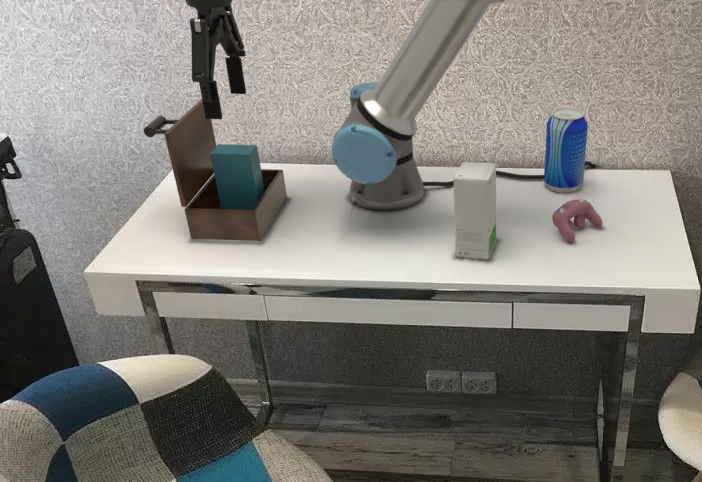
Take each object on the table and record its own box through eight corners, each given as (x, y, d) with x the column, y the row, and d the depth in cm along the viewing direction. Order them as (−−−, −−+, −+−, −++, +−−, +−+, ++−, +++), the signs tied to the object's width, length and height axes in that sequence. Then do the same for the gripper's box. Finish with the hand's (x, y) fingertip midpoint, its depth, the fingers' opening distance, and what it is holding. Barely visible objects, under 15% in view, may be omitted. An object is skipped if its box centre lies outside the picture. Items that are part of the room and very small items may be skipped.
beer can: (556, 174, 174) (561, 103, 165) (590, 184, 170) (596, 111, 161) (536, 187, 169) (539, 114, 160) (570, 197, 165) (575, 123, 156)
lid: (206, 97, 152) (167, 96, 153) (168, 133, 137) (124, 132, 137) (220, 165, 160) (183, 164, 161) (185, 207, 145) (144, 206, 145)
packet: (268, 212, 158) (257, 145, 150) (261, 222, 154) (249, 154, 146) (231, 210, 158) (218, 144, 150) (223, 221, 154) (209, 153, 146)
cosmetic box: (488, 261, 143) (488, 181, 134) (452, 257, 144) (451, 177, 135) (497, 239, 150) (498, 162, 141) (463, 236, 151) (462, 159, 142)
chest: (287, 199, 164) (282, 169, 160) (260, 243, 148) (254, 211, 144) (225, 197, 164) (219, 167, 161) (191, 241, 149) (184, 209, 145)
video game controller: (588, 229, 157) (578, 195, 155) (606, 226, 153) (596, 191, 151) (556, 245, 151) (545, 210, 149) (573, 243, 147) (562, 207, 146)
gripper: (209, -36, 141) (228, 83, 153) (153, -5, 121) (180, 129, 133) (250, -34, 141) (266, 84, 153) (201, -4, 120) (224, 131, 133)
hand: (226, 105), depth 143 cm, fingers open, 13 cm apart
